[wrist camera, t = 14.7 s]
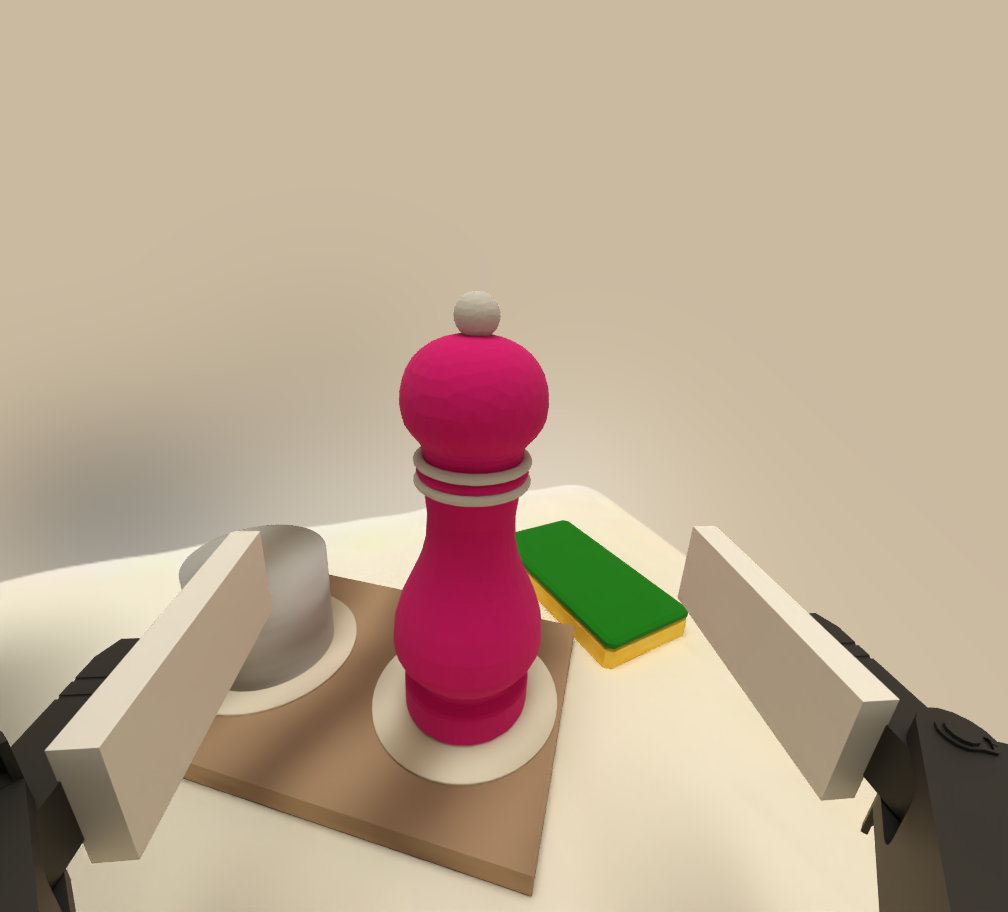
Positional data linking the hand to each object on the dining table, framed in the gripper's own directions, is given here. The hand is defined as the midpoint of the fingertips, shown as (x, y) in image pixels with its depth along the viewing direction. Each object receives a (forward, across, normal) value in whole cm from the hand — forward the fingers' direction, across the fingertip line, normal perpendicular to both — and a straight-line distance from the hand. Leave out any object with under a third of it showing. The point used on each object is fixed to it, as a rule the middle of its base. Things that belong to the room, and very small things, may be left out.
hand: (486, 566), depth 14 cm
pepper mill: (+6, 0, -12) cm, 14 cm away
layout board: (+9, -6, -14) cm, 17 cm away
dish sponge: (+17, +9, -14) cm, 24 cm away
